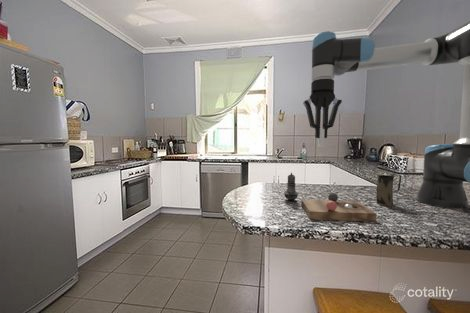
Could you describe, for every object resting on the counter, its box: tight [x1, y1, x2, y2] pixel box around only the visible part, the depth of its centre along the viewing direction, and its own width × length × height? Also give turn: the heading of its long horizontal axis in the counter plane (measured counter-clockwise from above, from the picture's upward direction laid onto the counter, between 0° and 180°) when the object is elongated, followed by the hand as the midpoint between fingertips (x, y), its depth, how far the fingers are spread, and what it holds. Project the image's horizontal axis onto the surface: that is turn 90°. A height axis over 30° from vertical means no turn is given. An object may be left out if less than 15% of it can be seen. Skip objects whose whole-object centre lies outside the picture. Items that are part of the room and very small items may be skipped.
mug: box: [375, 173, 402, 207], centre depth 87 cm, size 8×6×12 cm
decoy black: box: [328, 192, 339, 202], centre depth 82 cm, size 3×3×3 cm
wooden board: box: [300, 199, 378, 222], centre depth 77 cm, size 20×14×2 cm
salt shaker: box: [283, 172, 299, 204], centre depth 91 cm, size 6×6×12 cm
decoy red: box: [326, 201, 337, 211], centre depth 72 cm, size 3×3×3 cm
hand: (320, 147), depth 81 cm, fingers closed
